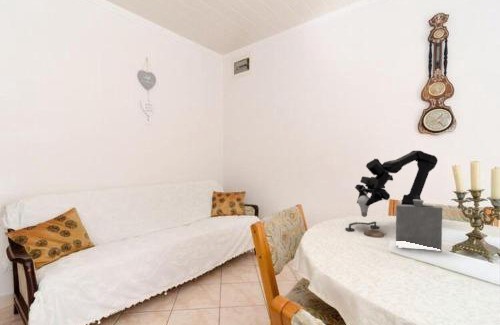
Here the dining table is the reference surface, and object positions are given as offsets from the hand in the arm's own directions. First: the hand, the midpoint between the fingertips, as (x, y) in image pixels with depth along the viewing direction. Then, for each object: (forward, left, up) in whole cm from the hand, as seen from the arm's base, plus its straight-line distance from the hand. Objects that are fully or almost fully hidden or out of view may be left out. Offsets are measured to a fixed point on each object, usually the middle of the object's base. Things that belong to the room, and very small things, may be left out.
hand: (361, 204), depth 125 cm
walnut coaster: (-6, +3, -13) cm, 15 cm away
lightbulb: (-1, -1, -7) cm, 7 cm away
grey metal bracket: (0, -2, -13) cm, 13 cm away
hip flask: (-25, +10, -13) cm, 30 cm away
